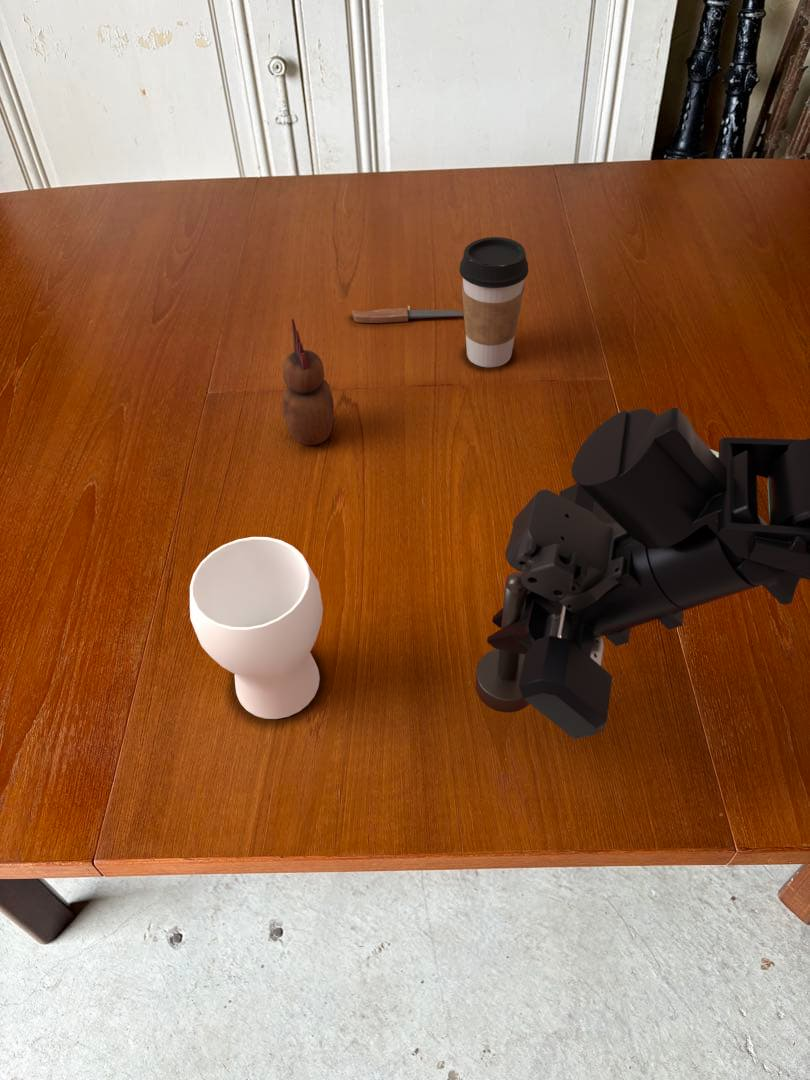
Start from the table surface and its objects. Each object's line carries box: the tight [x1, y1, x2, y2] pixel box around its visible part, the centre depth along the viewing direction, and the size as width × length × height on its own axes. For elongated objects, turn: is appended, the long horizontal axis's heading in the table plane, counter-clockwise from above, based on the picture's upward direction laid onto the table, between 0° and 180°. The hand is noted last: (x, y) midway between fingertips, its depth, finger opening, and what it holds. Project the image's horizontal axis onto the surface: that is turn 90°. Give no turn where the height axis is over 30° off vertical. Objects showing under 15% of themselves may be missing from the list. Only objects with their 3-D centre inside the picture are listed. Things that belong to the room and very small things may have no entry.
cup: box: [189, 536, 324, 720], centre depth 70 cm, size 11×11×15 cm
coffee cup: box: [459, 236, 529, 368], centre depth 103 cm, size 8×8×15 cm
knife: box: [351, 305, 464, 324], centre depth 114 cm, size 17×1×3 cm
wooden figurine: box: [282, 318, 335, 446], centre depth 93 cm, size 7×6×15 cm
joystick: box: [475, 571, 530, 714], centre depth 62 cm, size 5×5×14 cm
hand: (493, 632), depth 62 cm, fingers closed on joystick
